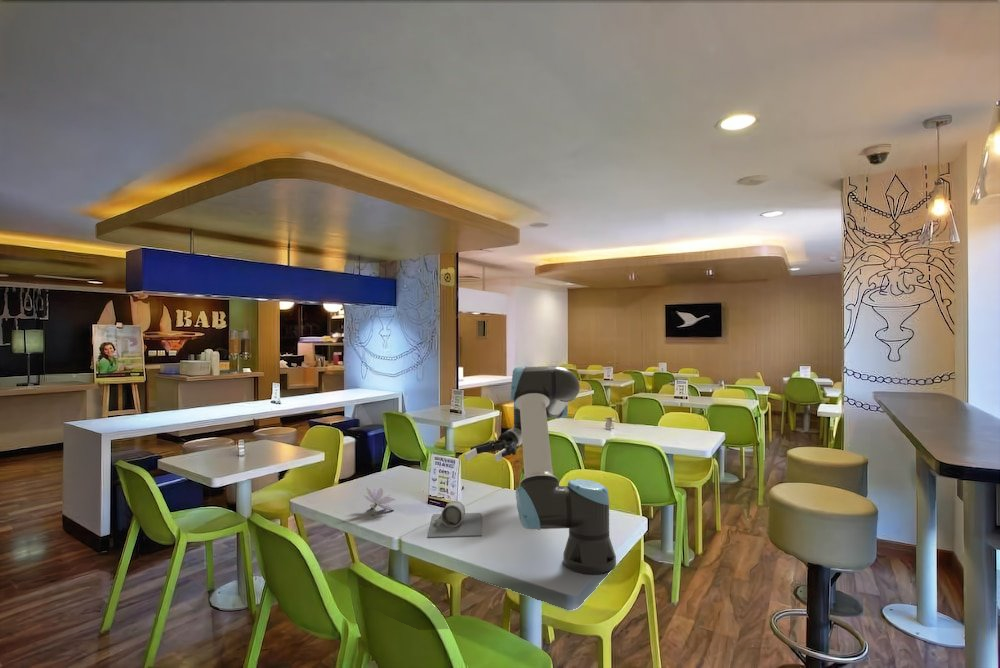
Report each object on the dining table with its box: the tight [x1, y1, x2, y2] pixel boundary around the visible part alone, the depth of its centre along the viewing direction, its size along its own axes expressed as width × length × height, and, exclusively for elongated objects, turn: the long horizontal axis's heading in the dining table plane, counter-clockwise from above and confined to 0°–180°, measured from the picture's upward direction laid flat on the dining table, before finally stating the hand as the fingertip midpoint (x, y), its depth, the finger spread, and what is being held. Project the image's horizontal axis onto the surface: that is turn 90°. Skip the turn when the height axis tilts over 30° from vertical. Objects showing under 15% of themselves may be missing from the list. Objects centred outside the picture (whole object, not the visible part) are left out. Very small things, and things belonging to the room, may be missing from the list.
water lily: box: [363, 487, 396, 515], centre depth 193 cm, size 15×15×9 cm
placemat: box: [427, 512, 483, 539], centre depth 179 cm, size 22×18×1 cm
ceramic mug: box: [435, 500, 466, 527], centre depth 180 cm, size 11×8×8 cm
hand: (480, 457), depth 186 cm, fingers open, 13 cm apart
